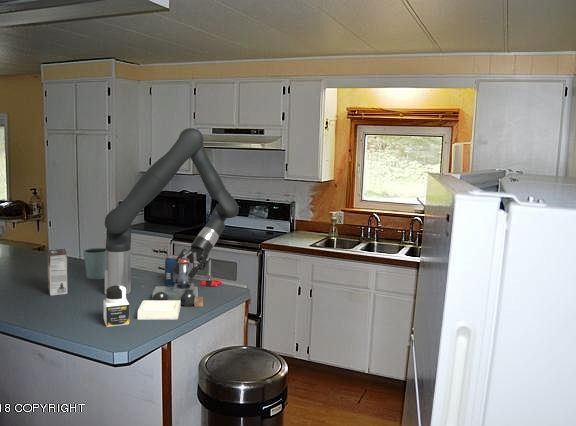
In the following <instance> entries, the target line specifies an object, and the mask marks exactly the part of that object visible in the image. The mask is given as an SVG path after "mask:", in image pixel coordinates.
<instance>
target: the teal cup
mask: <svg viewBox="0 0 576 426" xmlns="http://www.w3.org/2000/svg"><path fill="white" fill-rule="evenodd" d="M82 252H83V259H84V260H83V261H84V268H85V276H86V279H88V280H103V279H105V273H104V271H105V270H106V247H105V248H104V247H90V248H86V249H84V250H83V251H82Z"/></svg>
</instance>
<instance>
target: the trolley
mask: <svg viewBox="0 0 576 426" xmlns="http://www.w3.org/2000/svg"><path fill="white" fill-rule="evenodd" d="M198 288H199V287H198V286H195V283H189V288H179V283H175V284H174V286H168V285H165V286H164V285H163V286H162V285H161V286H158V285H157V286H155V287H154V289H153V291H152V295H151V296H152V297H151V300H181V305H182V306H183V307H187V308H188V307H189V308H190V307H192V306H193V305H194V306H195V297H199V291H198Z"/></svg>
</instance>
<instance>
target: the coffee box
mask: <svg viewBox="0 0 576 426" xmlns="http://www.w3.org/2000/svg"><path fill="white" fill-rule="evenodd" d="M46 254H47V284H48V285H47V288H48V292H49V296H57V295H58V296H59V295H60V296H61V295H67V294H68V253H67V251H66V249H65V248H59V249H58V248H57V249H47V253H46Z"/></svg>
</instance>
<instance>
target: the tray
mask: <svg viewBox="0 0 576 426" xmlns="http://www.w3.org/2000/svg"><path fill="white" fill-rule="evenodd" d="M180 311H181V300H152V299H150V300H149V299H147V300H145V299H144V300H142V302H141V304H140V305H139V307H138V309H137V320H145V321H146V320H148V321H149V320H178V319H179V316H180Z"/></svg>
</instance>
